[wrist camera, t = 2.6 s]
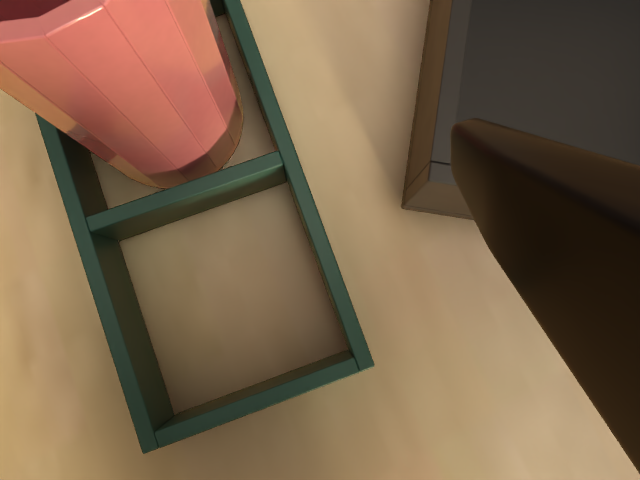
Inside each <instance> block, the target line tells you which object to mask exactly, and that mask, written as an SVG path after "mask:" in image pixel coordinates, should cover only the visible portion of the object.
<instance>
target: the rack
mask: <svg viewBox="0 0 640 480" xmlns="http://www.w3.org/2000/svg"><path fill="white" fill-rule="evenodd" d="M210 3H211V6H212V9H213V12H214V15H215V16H218V15H221V14H224V13H226V15H227V18H228V21H229V24H230V26H231V29H232V32H233V35H234V37H235V40H236V43H237V46H238V48H239V51H240V54H241V57H242V59H243V62H244V65H245V68H246V70H247V73H248V76H249V78H250V81H251V84H252V87H253V89H254V92H255V95H256V98H257V100H258V103H259V106H260V109H261V111H262V114H263V117H264V120H265V122H266V125H267V128H268V131H269V133H270V136H271V139H272V142H273V144H274V147H275V150H276V151H275V152H272V153H269V154H266V155H263V156H261V157H258V158H255V159H252V160H249V161H246V162H243V163H240V164H238V165H235V166H232V167H229V168H226V169H223V170H220V171H217V172H215V173H212V174H209V175H206V176H203V177H200V178H197V179H194V180H192V181H189V182H186V183H183V184H180V185H177V186H174V187H171V188H169V189H166V190H163V191H160V192H157V193H154V194H151V195H149V196H146V197H143V198H140V199H137V200H134V201H131V202H128V203H126V204H123V205H120V206H117V207H114V208H111V209H107V206H106V203H105V199H104V196H103V193H102V190H101V187H100V184H99V181H98V178H97V175H96V172H95V169H94V166H93V163H92V160H91V156H90V153H89V150H88V149H87V148H86V147H84V146H83V145H81V144H80V143H78V142H77V141H75V140H74V139H73V138H71V137H70V136H68V135H67V134H65V133H64V132H62V131H61V130H60V129H58V128H57V127H55V126H54V125H52V124H51V123H49V122H48V121H46V120H45V119H44V118H42V117H41V116H39V115H38V114H36V113H35V114H36V117H37V120H38V124H39V127H40V130H41V133H42V136H43V139H44V143H45V146H46V149H47V152H48V155H49V158H50V162H51V165H52V168H53V171H54V174H55V177H56V181H57V184H58V187H59V190H60V193H61V196H62V199H63V203H64V206H65V209H66V212H67V215H68V218H69V222H70V225H71V228H72V231H73V234H74V237H75V241H76V244H77V247H78V250H79V253H80V256H81V260H82V263H83V266H84V269H85V272H86V275H87V278H88V282H89V285H90V288H91V291H92V294H93V297H94V301H95V304H96V307H97V310H98V313H99V316H100V320H101V323H102V326H103V329H104V332H105V335H106V339H107V342H108V345H109V348H110V351H111V354H112V357H113V361H114V364H115V367H116V370H117V373H118V376H119V380H120V383H121V386H122V389H123V392H124V395H125V399H126V402H127V405H128V408H129V411H130V414H131V418H132V421H133V424H134V427H135V430H136V433H137V436H138V440H139V443H140V446H141V449H142V452H143V454H145V453H148V452H150V451H153V450H156V449H158V448H161V447H164V446H166V445H169V444H172V443H174V442H177V441H180V440H182V439H185V438H188V437H190V436H193V435H196V434H198V433H201V432H204V431H206V430H209V429H211V428H214V427H217V426H219V425H222V424H225V423H227V422H230V421H233V420H235V419H238V418H241V417H243V416H246V415H249V414H251V413H254V412H257V411H259V410H262V409H265V408H267V407H270V406H272V405H275V404H278V403H280V402H283V401H286V400H288V399H291V398H294V397H296V396H299V395H302V394H304V393H307V392H310V391H312V390H315V389H318V388H320V387H323V386H325V385H328V384H331V383H333V382H336V381H339V380H341V379H344V378H347V377H349V376H352V375H355V374H357V373H359V371H360V372H362V371H365V370H368V369H370V368H373V367H374V362H373V359H372V357H371V354H370V351H369V348H368V346H367V343H366V340H365V338H364V335H363V332H362V329H361V327H360V324H359V321H358V319H357V316H356V313H355V310H354V308H353V305H352V302H351V300H350V297H349V294H348V291H347V289H346V286H345V283H344V281H343V278H342V275H341V272H340V270H339V267H338V264H337V262H336V259H335V256H334V253H333V251H332V248H331V245H330V243H329V240H328V237H327V235H326V232H325V229H324V226H323V224H322V221H321V218H320V216H319V213H318V210H317V207H316V205H315V202H314V199H313V197H312V194H311V191H310V188H309V186H308V183H307V180H306V178H305V175H304V172H303V169H302V167H301V164H300V161H299V159H298V156H297V153H296V150H295V148H294V145H293V142H292V140H291V137H290V134H289V131H288V129H287V126H286V123H285V121H284V118H283V115H282V112H281V110H280V107H279V104H278V102H277V99H276V96H275V93H274V91H273V88H272V85H271V83H270V80H269V77H268V74H267V72H266V69H265V66H264V64H263V61H262V58H261V56H260V53H259V50H258V47H257V45H256V42H255V39H254V37H253V34H252V31H251V28H250V26H249V23H248V20H247V18H246V15H245V12H244V9H243V7H242V4H241V1H240V0H210ZM286 181H287V183H288V185H289V188H290V191H291V194H292V196H293V199H294V202H295V205H296V207H297V210H298V213H299V216H300V218H301V221H302V224H303V227H304V229H305V232H306V235H307V238H308V240H309V243H310V246H311V249H312V251H313V254H314V257H315V260H316V262H317V265H318V268H319V270H320V273H321V276H322V279H323V281H324V284H325V287H326V290H327V292H328V295H329V298H330V301H331V303H332V306H333V309H334V312H335V314H336V317H337V320H338V323H339V325H340V328H341V331H342V334H343V336H344V339H345V342H346V345H347V347H348V350H349V351H348V350H346V351H343V352H341V353H338V354H335V355H333V356H330V357H327V358H325V359H322V360H319V361H317V362H314V363H311V364H309V365H306V366H303V367H301V368H298V369H295V370H293V371H290V372H287V373H285V374H282V375H279V376H277V377H274V378H271V379H269V380H266V381H263V382H261V383H258V384H255V385H253V386H250V387H247V388H244V389H242V390H239V391H236V392H234V393H231V394H228V395H226V396H223V397H220V398H218V399H215V400H212V401H210V402H207V403H204V404H202V405H199V406H196V407H194V408H191V409H188V410H186V411H183V412H180V413H178V414H175V415H174V412H173V409H172V406H171V402H170V399H169V396H168V393H167V390H166V387H165V384H164V381H163V378H162V375H161V372H160V369H159V366H158V362H157V359H156V356H155V353H154V350H153V347H152V344H151V341H150V338H149V335H148V332H147V329H146V326H145V322H144V319H143V316H142V313H141V310H140V307H139V304H138V301H137V298H136V295H135V292H134V289H133V286H132V283H131V279H130V276H129V273H128V270H127V267H126V264H125V261H124V258H123V255H122V252H121V249H120V246H119V243H118V241H120V240H123V239H126V238H129V237H131V236H134V235H137V234H140V233H143V232H146V231H148V230H151V229H154V228H157V227H160V226H163V225H165V224H168V223H171V222H174V221H177V220H180V219H182V218H185V217H188V216H191V215H194V214H197V213H200V212H202V211H205V210H208V209H211V208H214V207H217V206H219V205H222V204H225V203H228V202H231V201H234V200H236V199H239V198H242V197H245V196H248V195H251V194H253V193H256V192H259V191H262V190H265V189H268V188H271V187H273V186H276V185H279V184H282V183H285V182H286Z"/></svg>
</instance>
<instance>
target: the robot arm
mask: <svg viewBox="0 0 640 480" xmlns="http://www.w3.org/2000/svg"><path fill="white" fill-rule="evenodd" d="M450 140H451V170H452V174H453V177H454V180H455V182H456V184H457V186H458V188H459V190H460V192H461V194H462V196H463V198H464V200H465V202H466V204H467V206H468V208H469V210H470V212H471V214H472V216H473V218H474V220H475V222H476V224H477V226H478V228H479V230H480V232H481V234H482V236H483V238H484V240H485V242H486V244H487V245H488V247H489V249H490V251H491V252H492V254H493V255H494V257H495V259H496V260H497V262H498V263H499V265H500V266H501V268H502V269H503V270H504V272H505V273H506V275H507V276H508V278H509V279H510V281H511V282H512V284H513V285H514V287H515V288H516V290H517V291H518V293H519V294H520V296H521V297H522V299H523V300H524V302H525V303H526V305H527V306H528V308H529V309H530V311H531V312H532V314H533V315H534V317H535V318H536V320H537V321H538V323H539V324H540V326H541V327H542V329H543V330H544V332H545V333H546V335H547V336H548V338H549V339H550V341H551V342H552V344H553V345H554V347H555V348H556V350H557V351H558V353H559V354H560V356H561V357H562V359H563V360H564V361H565V363H566V364H567V366H568V367H569V369H570V370H571V372H572V373H573V375H574V376H575V378H576V379H577V381H578V382H579V384H580V385H581V387H582V388H583V390H584V391H585V393H586V394H587V396H588V397H589V399H590V400H591V402H592V403H593V405H594V406H595V408H596V409H597V411H598V412H599V414H600V415H601V417H602V418H603V420H604V421H605V423H606V424H607V426H608V427H609V429H610V430H611V432H612V433H613V435H614V436H615V438H616V439H617V441H618V442H619V444H620V445H621V447H622V448H623V450H624V451H625V453H626V454H627V455H628V457H629V458H630V460H631V461H632V463H633V464H634V466H635V467H636V469H637V470H638V472H639V473H640V166H639V165H635V164H632V163H629V162H625V161H622V160H618V159H615V158H612V157H608V156H605V155H601V154H598V153H595V152H591V151H588V150H585V149H581V148H578V147H574V146H571V145H568V144H564V143H561V142H557V141H554V140H551V139H547V138H544V137H540V136H537V135H534V134H530V133H527V132H523V131H520V130H517V129H513V128H510V127H507V126H503V125H500V124H496V123H493V122H490V121H486V120H483V119H479V118H472V119H469V120H465V121H462V122H458V123H455V124H454V125H453V126H452V128H451V133H450Z"/></svg>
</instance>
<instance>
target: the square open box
mask: <svg viewBox="0 0 640 480" xmlns="http://www.w3.org/2000/svg"><path fill="white" fill-rule="evenodd" d="M472 118H479V119H483V120H486V121H490V122H493V123H496V124H500V125H503V126H507V127H510V128H513V129H517V130H520V131H523V132H527V133H530V134H534V135H537V136H540V137H544V138H547V139H551V140H554V141H557V142H561V143H564V144H568V145H571V146H574V147H578V148H581V149H585V150H588V151H591V152H595V153H598V154H601V155H605V156H608V157H612V158H615V159H618V160H622V161H625V162H629V163H632V164H635V165H639V166H640V0H430V6H429V14H428V21H427V28H426V35H425V42H424V49H423V56H422V63H421V70H420V77H419V84H418V91H417V98H416V105H415V113H414V120H413V127H412V134H411V141H410V148H409V155H408V162H407V169H406V176H405V183H404V190H403V197H402V204H401V207H402V208H403V209H409V210H415V211H421V212H428V213H434V214H440V215H447V216H453V217H459V218H465V219H472V220H474V218H473V216H472V214H471V212H470V210H469V208H468V206H467V204H466V202H465V200H464V198H463V196H462V194H461V192H460V190H459V188H458V186H457V184H456V182H455V180H454V177H453V174H452V170H451V140H450V133H451V128H452V126H453V125H454V124H455V123H458V122H462V121H465V120H469V119H472Z"/></svg>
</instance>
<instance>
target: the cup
mask: <svg viewBox="0 0 640 480" xmlns="http://www.w3.org/2000/svg"><path fill="white" fill-rule="evenodd" d="M0 89H2V90H3V91H4V92H6V93H7V94H9V95H10V96H12V97H13V98H15V99H16V100H17V101H19V102H20V103H22V104H23V105H25V106H26V107H28V108H29V109H31V110H32V111H33V112H35V113H36V114H38V115H39V116H41V117H42V118H44V119H45V120H46V121H48V122H49V123H51V124H52V125H54V126H55V127H57V128H58V129H60V130H61V131H62V132H64V133H65V134H67V135H68V136H70V137H71V138H73V139H74V140H75V141H77V142H78V143H80V144H81V145H83V146H84V147H86V148H87V149H89V150H90V151H91V152H93V153H94V154H96V155H97V156H99V157H100V158H102V159H103V160H104V161H106V162H107V163H109V164H110V165H112V166H113V167H115V168H116V169H118V170H119V171H120V172H122V173H123V174H125V175H126V176H128V177H129V178H131V179H133V180H136V181H138V182H140V183H142V184H145V185H148V186H152V187H157V188H168V189H169V188H171V187H174V186H177V185H180V184H183V183H186V182H189V181H192V180H194V179H197V178H200V177H203V176H206V175H209V174H212V173H215V172H217V171H218V170H219V169H220V168H222V167H223V165H224V164H225V163H226V162H227V161H228V160H229V158H230V157H231V155H232V154H233V153H234V151H235V149H236V147H237V145H238V142H239V139H240V137H241V133H242V128H243V106H242V101H241V98H240V91H239V88H238V85H237V82H236V79H235V76H234V73H233V70H232V67H231V64H230V61H229V58H228V55H227V52H226V49H225V46H224V43H223V40H222V37H221V34H220V31H219V28H218V25H217V21H216V18H215V15H214V12H213V9H212V6H211V3H210V0H0Z"/></svg>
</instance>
